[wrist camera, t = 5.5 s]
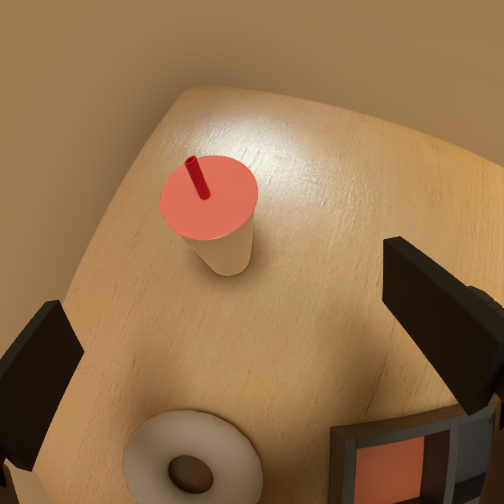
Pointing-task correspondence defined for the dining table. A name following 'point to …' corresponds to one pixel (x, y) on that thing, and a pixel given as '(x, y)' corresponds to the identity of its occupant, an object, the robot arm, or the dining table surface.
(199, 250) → the cup
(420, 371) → the dining table surface
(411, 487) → the grid
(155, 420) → the donut
